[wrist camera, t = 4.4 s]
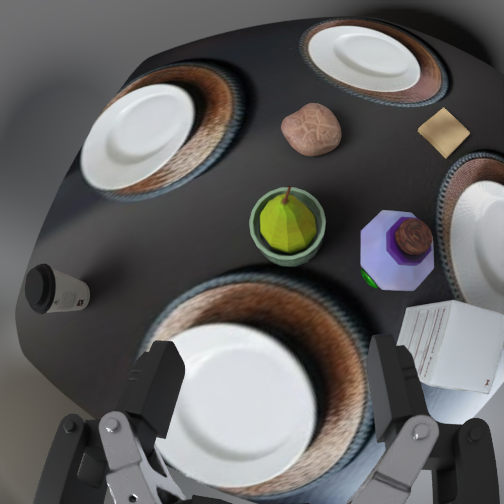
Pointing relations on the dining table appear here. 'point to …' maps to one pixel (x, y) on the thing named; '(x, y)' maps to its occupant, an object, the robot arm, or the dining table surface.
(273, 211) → the fruit
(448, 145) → the board
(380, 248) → the potion bottle
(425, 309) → the white packaging box
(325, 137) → the brown rounded lump
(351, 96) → the dining table surface
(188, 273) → the dining table surface
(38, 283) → the coffee cup
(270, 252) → the bowl
